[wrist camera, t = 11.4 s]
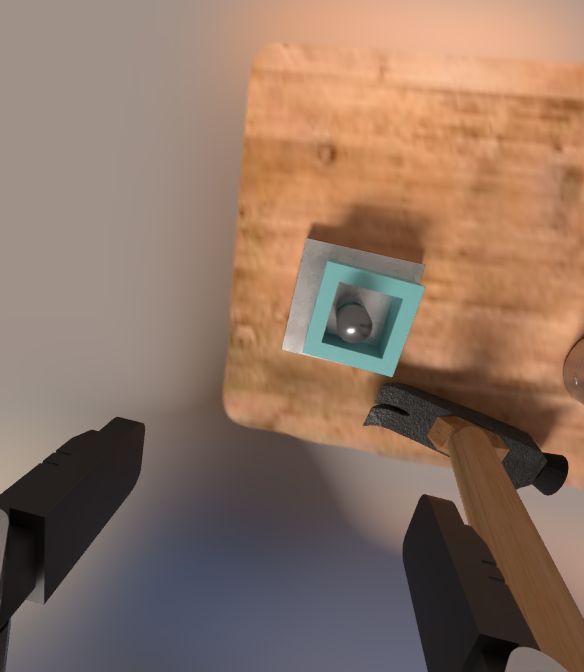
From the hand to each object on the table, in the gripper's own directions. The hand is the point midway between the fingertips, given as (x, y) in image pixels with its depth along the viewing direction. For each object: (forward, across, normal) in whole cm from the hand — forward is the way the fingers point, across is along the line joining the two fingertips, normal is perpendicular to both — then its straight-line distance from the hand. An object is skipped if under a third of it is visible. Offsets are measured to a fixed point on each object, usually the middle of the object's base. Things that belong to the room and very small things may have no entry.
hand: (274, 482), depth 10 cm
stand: (+30, -4, 0) cm, 30 cm away
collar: (+28, -5, 0) cm, 29 cm away
